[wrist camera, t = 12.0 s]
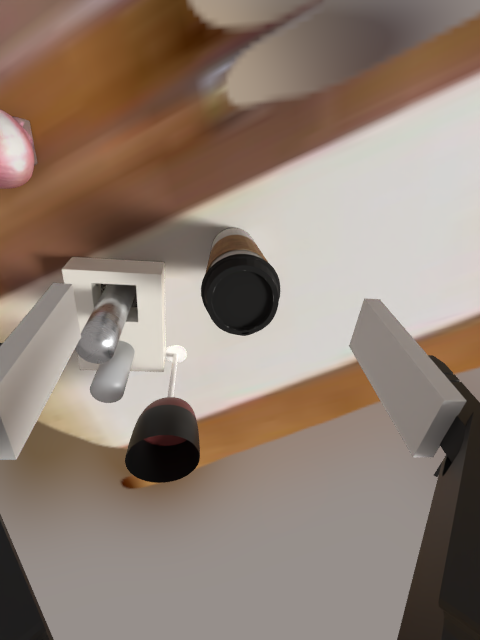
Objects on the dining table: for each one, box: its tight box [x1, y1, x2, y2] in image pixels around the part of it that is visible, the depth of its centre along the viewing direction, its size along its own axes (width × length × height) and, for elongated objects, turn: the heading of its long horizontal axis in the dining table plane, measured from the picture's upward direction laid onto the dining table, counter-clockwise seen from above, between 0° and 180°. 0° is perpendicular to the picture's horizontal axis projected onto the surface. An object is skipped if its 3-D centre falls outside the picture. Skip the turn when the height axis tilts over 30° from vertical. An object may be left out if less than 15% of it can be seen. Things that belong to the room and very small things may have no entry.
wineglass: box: [125, 345, 200, 483], centre depth 48 cm, size 8×9×20 cm
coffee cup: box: [201, 228, 280, 336], centre depth 42 cm, size 8×8×15 cm
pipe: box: [75, 284, 136, 364], centre depth 44 cm, size 4×4×14 cm
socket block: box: [62, 257, 166, 403], centre depth 46 cm, size 16×12×12 cm
